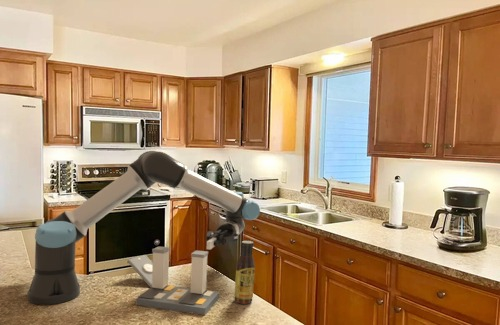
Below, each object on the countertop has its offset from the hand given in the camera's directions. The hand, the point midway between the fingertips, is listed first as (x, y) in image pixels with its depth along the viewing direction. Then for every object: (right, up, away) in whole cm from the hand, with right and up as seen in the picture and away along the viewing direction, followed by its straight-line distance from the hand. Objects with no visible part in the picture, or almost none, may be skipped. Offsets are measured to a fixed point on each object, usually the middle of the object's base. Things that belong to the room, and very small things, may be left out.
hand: (208, 245), depth 131 cm
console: (-9, -16, -10) cm, 21 cm away
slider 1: (-16, -13, -4) cm, 21 cm away
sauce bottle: (+13, -17, -7) cm, 22 cm away
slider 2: (-3, -14, -7) cm, 16 cm away
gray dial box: (-24, -15, +8) cm, 30 cm away
